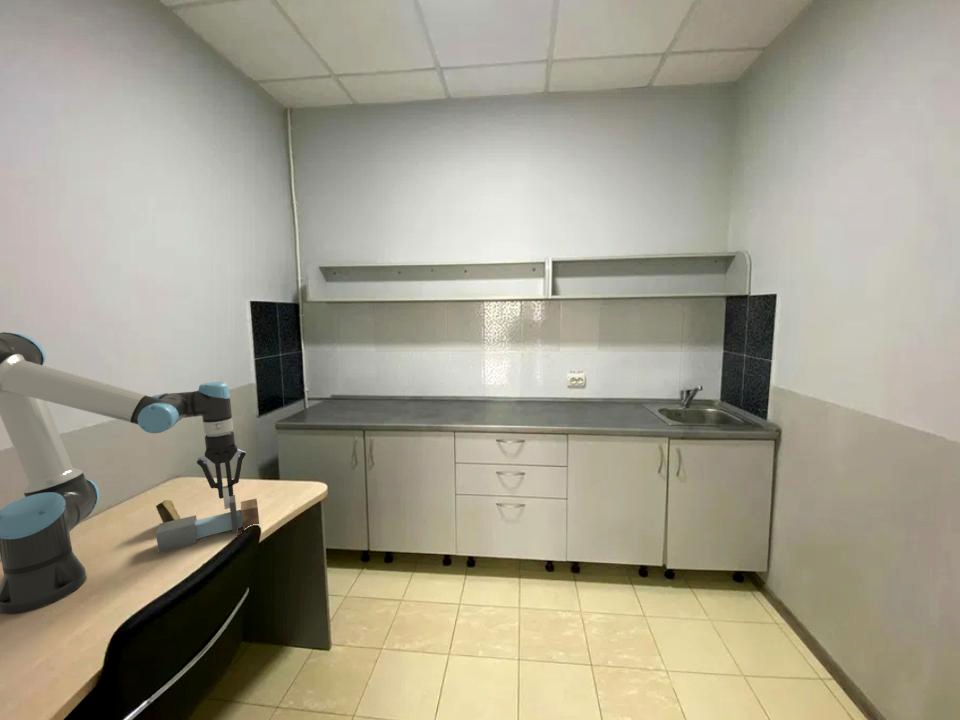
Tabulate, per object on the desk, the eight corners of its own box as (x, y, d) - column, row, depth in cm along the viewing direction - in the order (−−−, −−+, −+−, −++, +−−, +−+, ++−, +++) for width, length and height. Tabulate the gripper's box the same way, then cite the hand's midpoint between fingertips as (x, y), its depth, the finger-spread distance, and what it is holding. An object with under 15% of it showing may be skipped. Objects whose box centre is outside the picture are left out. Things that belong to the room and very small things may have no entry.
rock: (160, 514, 137) (140, 525, 127) (176, 491, 138) (158, 500, 128) (189, 530, 138) (173, 542, 128) (205, 508, 139) (190, 518, 130)
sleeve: (158, 553, 118) (155, 533, 117) (162, 543, 123) (159, 523, 122) (196, 543, 122) (194, 524, 121) (198, 534, 128) (196, 515, 127)
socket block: (243, 532, 128) (241, 510, 127) (242, 522, 134) (240, 501, 133) (259, 527, 130) (257, 506, 129) (258, 518, 136) (256, 498, 135)
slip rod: (181, 546, 120) (177, 515, 119) (184, 536, 126) (180, 506, 125) (252, 528, 129) (249, 498, 128) (251, 519, 135) (248, 491, 134)
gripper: (192, 440, 119) (201, 517, 122) (244, 432, 125) (251, 505, 128) (194, 434, 125) (203, 507, 128) (243, 426, 132) (251, 497, 135)
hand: (227, 506), depth 128 cm, fingers closed
